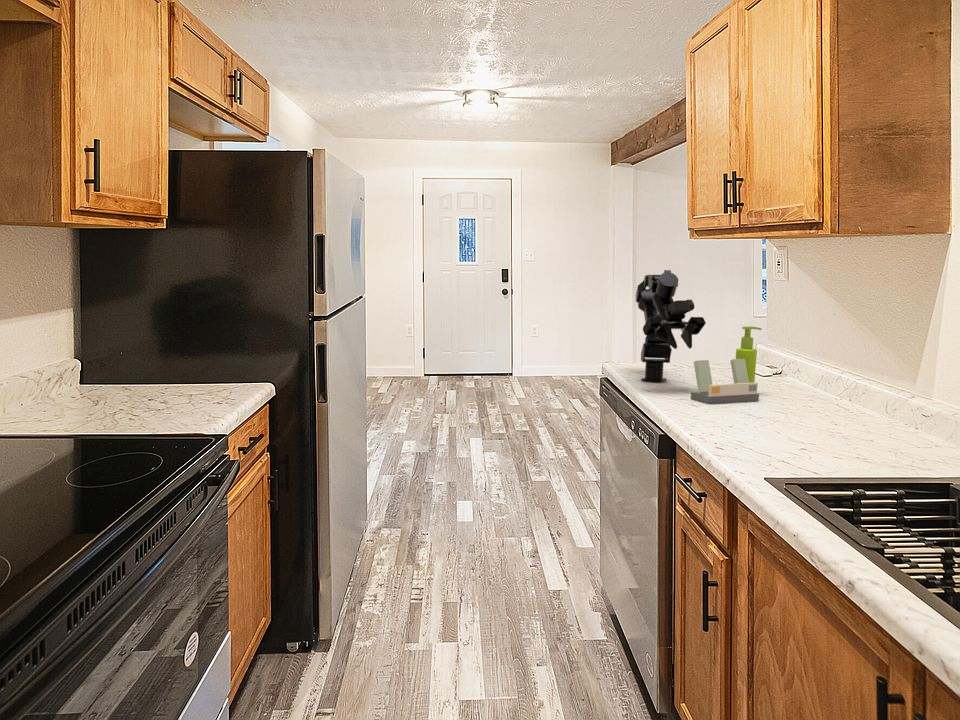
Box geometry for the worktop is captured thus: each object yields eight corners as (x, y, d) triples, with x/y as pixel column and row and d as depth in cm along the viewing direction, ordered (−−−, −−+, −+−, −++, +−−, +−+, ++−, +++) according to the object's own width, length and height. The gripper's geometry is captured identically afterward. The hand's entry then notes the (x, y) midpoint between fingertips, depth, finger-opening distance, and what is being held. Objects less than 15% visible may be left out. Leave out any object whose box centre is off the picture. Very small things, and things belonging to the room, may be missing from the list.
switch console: (690, 398, 233) (691, 381, 233) (739, 395, 240) (740, 378, 239) (708, 404, 226) (709, 385, 225) (758, 400, 233) (759, 382, 232)
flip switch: (698, 392, 230) (693, 361, 232) (710, 392, 232) (705, 361, 233) (702, 391, 229) (697, 360, 230) (713, 391, 230) (708, 360, 232)
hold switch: (735, 390, 235) (730, 360, 237) (746, 390, 237) (741, 359, 238) (739, 389, 234) (733, 359, 235) (750, 389, 235) (744, 358, 237)
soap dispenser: (759, 394, 244) (764, 327, 241) (736, 393, 244) (741, 327, 241) (753, 391, 249) (758, 326, 247) (731, 390, 250) (735, 325, 247)
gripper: (649, 290, 241) (666, 331, 232) (704, 290, 247) (723, 330, 238) (635, 314, 250) (651, 354, 241) (688, 314, 255) (706, 353, 246)
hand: (683, 347), depth 241 cm, fingers open, 5 cm apart
